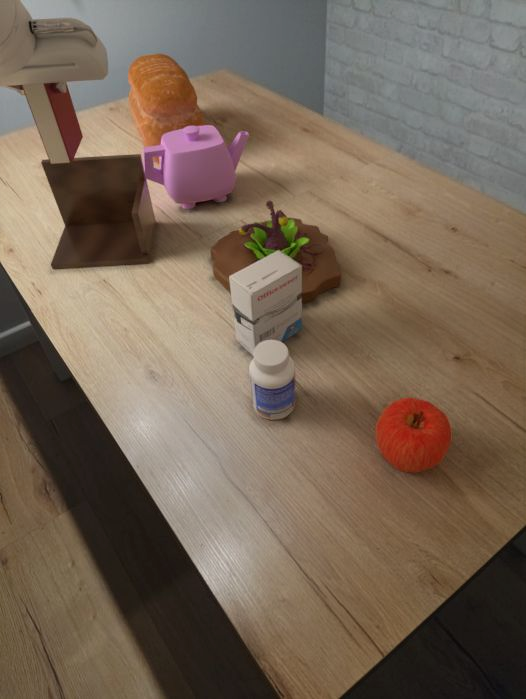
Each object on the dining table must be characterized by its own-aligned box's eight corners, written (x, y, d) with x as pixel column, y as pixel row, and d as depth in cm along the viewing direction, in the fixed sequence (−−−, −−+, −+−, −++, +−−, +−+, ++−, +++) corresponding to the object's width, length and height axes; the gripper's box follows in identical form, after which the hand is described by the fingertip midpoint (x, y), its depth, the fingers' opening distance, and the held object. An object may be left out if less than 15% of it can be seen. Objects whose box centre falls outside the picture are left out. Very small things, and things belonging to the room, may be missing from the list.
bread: (152, 171, 106) (135, 94, 95) (130, 120, 123) (114, 50, 111) (215, 158, 108) (206, 82, 97) (185, 110, 125) (175, 40, 114)
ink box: (280, 312, 76) (278, 246, 68) (302, 330, 74) (304, 264, 65) (234, 340, 73) (226, 275, 64) (256, 360, 70) (251, 294, 61)
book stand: (52, 269, 85) (22, 199, 76) (67, 227, 93) (42, 159, 84) (148, 263, 85) (131, 193, 76) (156, 222, 93) (140, 153, 84)
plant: (239, 324, 75) (233, 263, 66) (199, 250, 87) (190, 190, 79) (361, 286, 79) (369, 224, 71) (306, 221, 92) (308, 162, 83)
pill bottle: (303, 409, 64) (305, 357, 57) (265, 428, 63) (262, 377, 55) (280, 380, 68) (279, 328, 60) (244, 397, 66) (239, 346, 59)
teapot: (157, 221, 93) (142, 155, 84) (144, 188, 102) (130, 123, 92) (261, 198, 97) (258, 132, 88) (241, 167, 105) (236, 104, 96)
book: (50, 165, 72) (16, 73, 63) (63, 137, 77) (33, 49, 68) (71, 163, 72) (40, 71, 63) (83, 136, 77) (56, 48, 68)
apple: (411, 412, 63) (424, 371, 57) (457, 463, 58) (476, 423, 52) (358, 440, 61) (365, 399, 55) (401, 495, 56) (414, 457, 50)
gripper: (84, -10, 53) (121, 59, 67) (-112, 1, 53) (-35, 68, 67) (89, 52, 54) (124, 108, 68) (-107, 64, 54) (-31, 117, 68)
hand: (43, 88), depth 67 cm, fingers closed on book, 3 cm apart
